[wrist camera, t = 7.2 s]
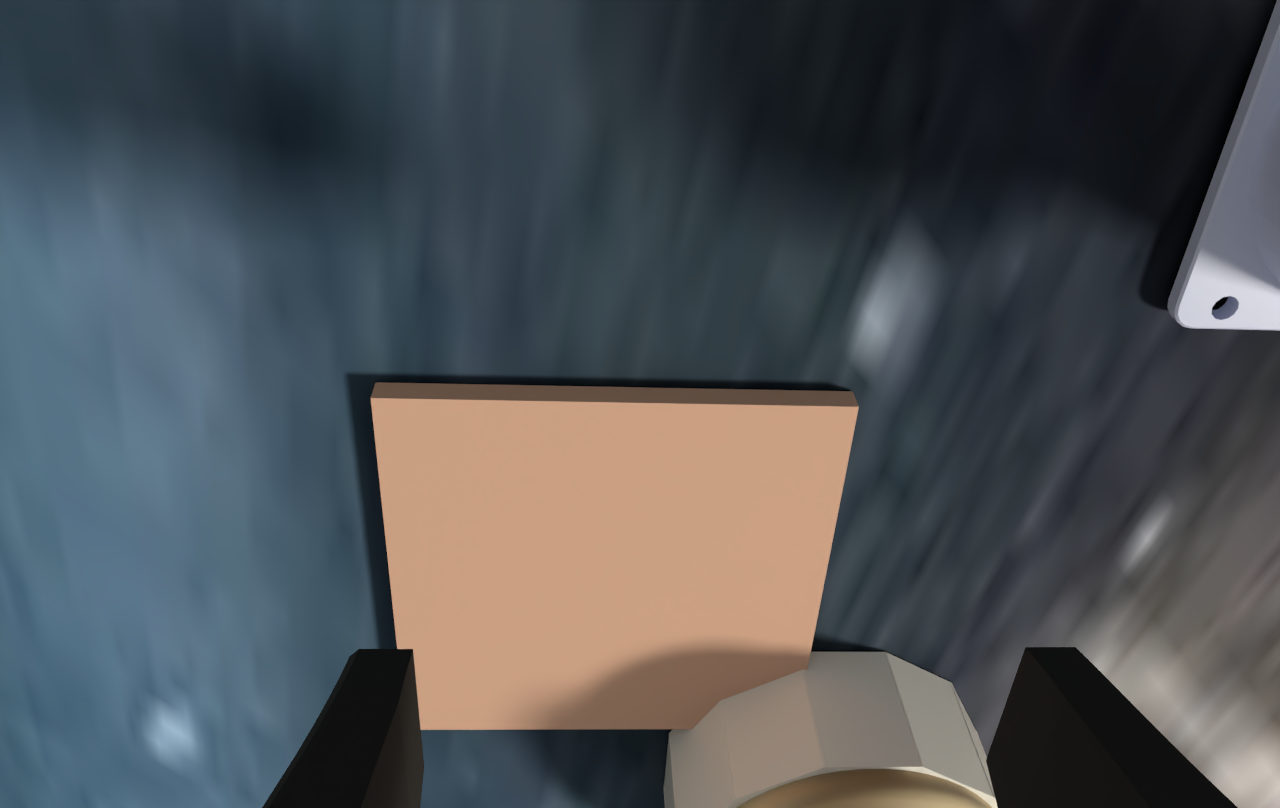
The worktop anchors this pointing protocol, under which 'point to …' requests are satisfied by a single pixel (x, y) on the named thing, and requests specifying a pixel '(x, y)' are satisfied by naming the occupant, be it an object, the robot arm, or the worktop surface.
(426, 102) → the worktop surface
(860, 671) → the bowl
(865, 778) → the bamboo lid
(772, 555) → the mat
